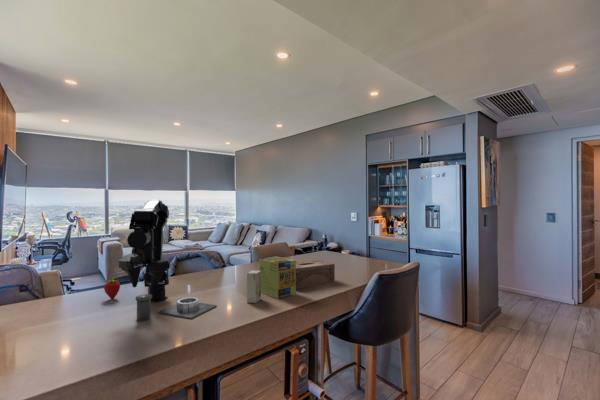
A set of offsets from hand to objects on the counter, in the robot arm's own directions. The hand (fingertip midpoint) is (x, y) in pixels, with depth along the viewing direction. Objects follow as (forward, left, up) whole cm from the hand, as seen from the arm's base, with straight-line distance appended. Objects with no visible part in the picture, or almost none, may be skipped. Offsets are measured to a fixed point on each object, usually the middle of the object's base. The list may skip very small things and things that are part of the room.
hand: (144, 288), depth 105 cm
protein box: (+30, +46, -11) cm, 56 cm away
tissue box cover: (+36, +68, -11) cm, 78 cm away
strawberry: (-32, +11, -11) cm, 35 cm away
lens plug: (0, 0, -11) cm, 11 cm away
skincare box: (+26, +32, -11) cm, 43 cm away
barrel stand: (+8, +13, -11) cm, 19 cm away
